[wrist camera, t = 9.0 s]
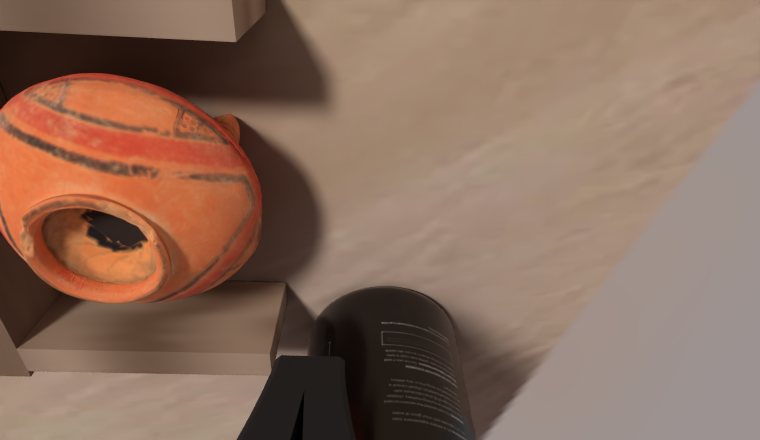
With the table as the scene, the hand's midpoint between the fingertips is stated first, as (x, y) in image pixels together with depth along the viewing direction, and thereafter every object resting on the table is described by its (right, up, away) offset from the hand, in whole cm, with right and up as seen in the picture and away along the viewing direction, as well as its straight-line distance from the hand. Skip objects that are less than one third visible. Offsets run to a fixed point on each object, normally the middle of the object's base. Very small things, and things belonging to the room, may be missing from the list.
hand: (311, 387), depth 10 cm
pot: (-6, +6, +7) cm, 12 cm away
